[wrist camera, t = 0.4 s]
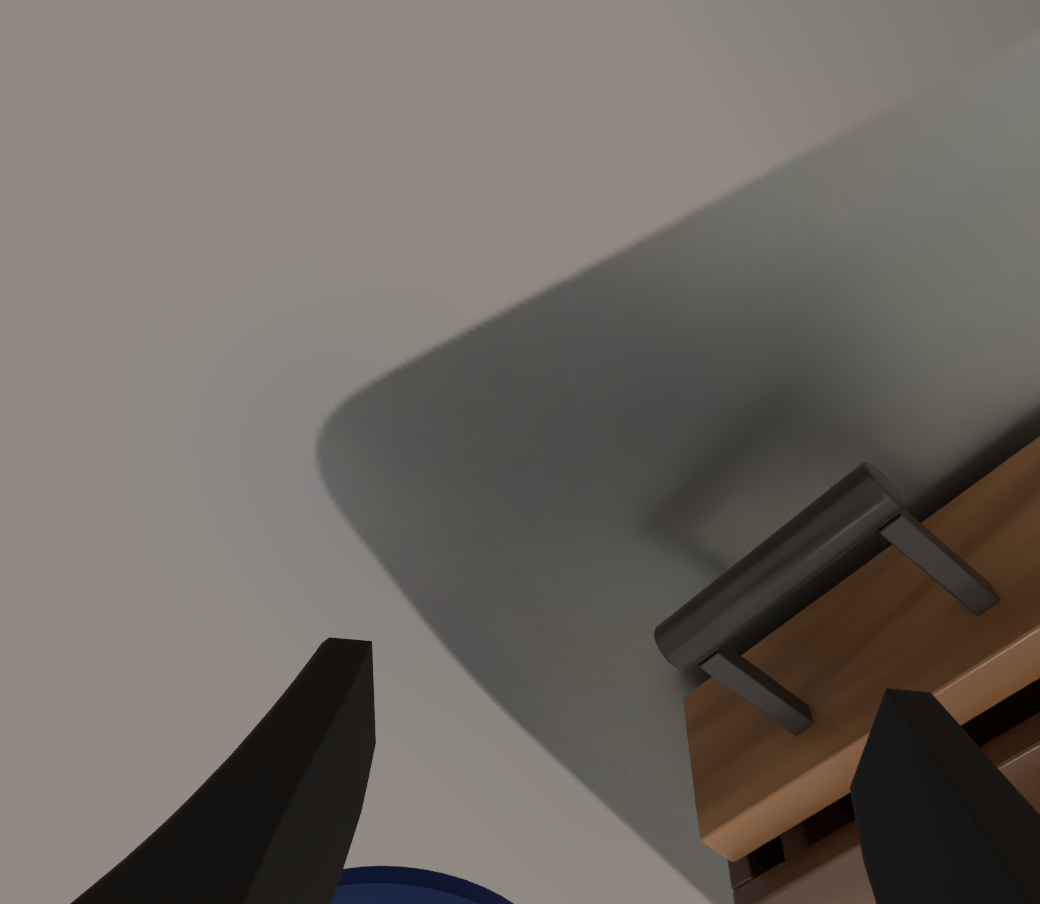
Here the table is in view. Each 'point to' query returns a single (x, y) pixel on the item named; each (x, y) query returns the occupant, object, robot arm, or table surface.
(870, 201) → the table surface
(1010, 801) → the robot arm
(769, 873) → the cabinet
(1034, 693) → the drawer
